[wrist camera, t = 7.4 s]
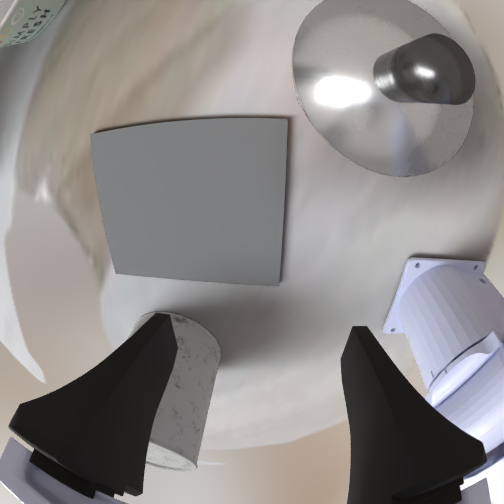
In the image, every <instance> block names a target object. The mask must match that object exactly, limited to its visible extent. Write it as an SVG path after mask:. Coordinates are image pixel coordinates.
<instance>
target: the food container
mask: <svg viewBox="0 0 504 504" xmlns="http://www.w3.org/2000/svg"><path fill="white" fill-rule="evenodd" d="M65 1H66V0H0V48H2V47H6V46H11V45H16V44H21V43H26V42H29V41H31V40H32V39H34V38H35V37H37V36H38V35H39V34H40V33H41V32H42V31H43V30H44V29H45V28H46V27H47V26H48V25H49V24H50V23H51V22H52V20H53V19H54V18H55V17H56V15H57V14H58V12H59V11H60V10H61V8H62V6H63V5H64V3H65Z"/></svg>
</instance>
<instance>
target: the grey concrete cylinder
mask: <svg viewBox="0 0 504 504" xmlns="http://www.w3.org/2000/svg"><path fill="white" fill-rule="evenodd" d="M155 313H156V312H152V313H147V314H145V315H143V316H141V317H140V318H139V319H138V320H137V321H136V323H135V326H134V328H133V330H132V332H131V334H130V336H129V337H128V339H129V338H130V337H131V336H132V335H133V334H134V333H135V332H136V331H137V330H138V329H139V328H140V327H141V326H142V325H143V324H144V323H146V322H147V321H148V320H149V319H150V318H151V317H152V316H153V315H154V314H155ZM157 313H164V314H170V317H171V321H172V325H173V329H174V333H175V337H176V341H177V345H178V351H177V355H176V359H175V363H174V367H173V370H172V373H171V376H170V378H169V381H168V384H167V386H166V389H165V391H164V394H163V396H162V399H161V402H160V404H159V407H158V410H157V412H156V416H155V419H154V423H153V427H152V431H151V435H150V440H149V445H148V451H147V456H146V464H149V465H152V466H155V467H159V468H163V469H169V470H174V471H184V472H185V471H193V470H195V469H196V468H197V460H198V455H199V450H200V446H201V441H202V437H203V432H204V427H205V423H206V418H207V414H208V409H209V405H210V400H211V396H212V391H213V387H214V382H215V378H216V374H217V369H218V365H219V362H220V360H221V349H220V346H219V343H218V342H217V340H216V339H215V337H214V336H213V335H212V334H211V333H210V332H209V331H208V330H207V329H206V328H204V327H203V326H201V325H200V324H199V323H197V322H195V321H193V320H191V319H189V318H187V317H184V316H181V315H179V314H175V313H170V312H157Z"/></svg>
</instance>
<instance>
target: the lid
mask: <svg viewBox="0 0 504 504" xmlns="http://www.w3.org/2000/svg"><path fill="white" fill-rule="evenodd" d="M291 66H292V78H293V82H294V87H295V91H296V94H297V96H298V99H299V102H300V104H301V106H302V108H303V110H304V112H305V114H306V116H307V117H308V119H309V121H310V122H311V124H312V125H313V127H314V128H315V129H316V130H317V132H318V133H319V134H320V135H321V136H322V138H324V139H325V140H326V141H327V142H328V143H329V144H330V145H331V146H332V147H333V148H334V149H336V150H337V151H338V152H339V153H341V154H342V155H343V156H345V157H346V158H348V159H350V160H351V161H353V162H354V163H356V164H358V165H360V166H362V167H364V168H366V169H368V170H371V171H374V172H377V173H380V174H384V175H389V176H398V177H408V176H417V175H421V174H425V173H428V172H430V171H433V170H435V169H437V168H438V167H440V166H442V165H443V164H445V163H446V162H447V161H448V160H450V159H451V158H452V157H453V156H454V155H455V153H456V152H457V151H458V150H459V148H460V147H461V145H462V144H463V142H464V140H465V138H466V136H467V134H468V131H469V129H470V126H471V122H472V117H473V108H474V95H473V92H474V89H475V74H474V70H473V67H472V64H471V62H470V60H469V58H468V56H467V54H466V53H465V52H464V50H463V49H462V48H461V47H460V46H459V45H458V44H457V43H456V42H455V41H454V40H453V39H452V37H451V36H450V35H449V33H448V32H447V31H446V30H445V29H444V27H443V26H442V25H441V24H440V23H439V22H438V21H437V20H436V19H435V18H433V17H432V16H431V15H430V14H428V13H427V12H426V11H425V10H423V9H421V8H420V7H418V6H417V5H415V4H413V3H412V2H410V1H408V0H324V1H322V2H321V3H320V4H319V5H317V6H316V7H315V8H314V9H313V10H312V11H311V12H310V13H309V14H308V15H307V16H306V18H305V19H304V21H303V23H302V24H301V26H300V28H299V30H298V33H297V35H296V38H295V43H294V47H293V52H292V64H291Z"/></svg>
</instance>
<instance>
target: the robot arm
mask: <svg viewBox="0 0 504 504" xmlns="http://www.w3.org/2000/svg"><path fill="white" fill-rule="evenodd" d="M417 263H419V264H418V265H416V264H417ZM415 265H416V266H415ZM485 266H486V265H485V263H484V262H483V261H470V260H452V259H434V258H416V257H412V258H410V259H408V260H407V262H406V265H405V269H404V272H403V275H402V278H401V281H400V284H399V287H398V290H397V293H396V295H395V298H394V301H393V303H392V306H391V309H390V311H389V314H388V316H387V319H386V321H385V324H384V326H383V332H384V333H385V334H391V333H405V334H406V337H407V339H408V342H409V344H410V347H411V349H412V352H413V354H414V357H415V359H416V362H417V365H418V367H419V370H420V373H421V375H422V378H423V381H424V384H425V387H426V390H427V393H428V394H427V396H426V397H425V398H423V397H422V396H421V395H420V394H419V393H418V392H417V391H416V389H415V388H414V387H413V386H412V385H411V384H410V383H409V382H408V380H407V379H406V378H405V377H404V376H403V374H402V373H401V372H400V371H399V369H398V368H397V367H396V365H395V364H394V363H393V361H392V360H391V359H390V357H389V356H388V355H387V353H386V352H385V351H384V349H383V348H382V346H381V345H380V344H379V342H378V341H377V339H376V338H375V337H374V335H373V334H372V332H371V331H370V330H369V328H368V327H367V326H353V327H352V330H351V332H350V335H349V338H348V341H347V344H346V346H345V349H344V352H343V354H342V357H341V374H342V384H343V390H344V395H345V401H346V407H347V413H348V419H349V424H350V434H351V469H350V484H349V493H348V501H347V504H491V502H492V504H504V298H503V297H502V295H501V294H500V293H499V292H498V290H497V289H496V288H495V287H494V286H493V285H492V283H491V282H490V281H489V280H488V279H487V277H486V276H485V275H484V274H483V272H484V269H485ZM392 328H393V329H392ZM177 351H178V345H177V341H176V337H175V333H174V329H173V325H172V321H171V317H170V314H164V313H157V312H156V313H155V314H154V315H153V316H152V317H151V318H150V319H149V320H148V321H147V322H146V323H144V324H143V325H142V326H141V327H140V328H139V329H138V330H137V331H136V332H135V333H134V334H133V335H132V336H131V337H130V338H129V339H127V340H126V341H125V342H124V343H123V344H122V345H121V346H120V347H119V348H118V349H116V350H115V351H114V352H113V353H112V354H110V355H109V356H108V357H107V358H106V359H105V360H104V361H102V362H101V363H99V364H98V365H97V366H96V367H94V368H93V369H91V370H90V371H88V372H87V373H85V374H84V375H82V376H81V377H79V378H77V379H76V380H74V381H72V382H71V383H69V384H67V385H65V386H63V387H62V388H60V389H58V390H56V391H54V392H51V393H49V394H47V395H44V396H42V397H39V398H37V399H34V400H31V401H28V402H25V403H22V404H20V405H19V407H18V409H17V410H16V413H15V414H14V416H13V418H12V420H11V422H10V424H9V429H10V430H11V431H13V432H14V433H15V434H16V435H17V436H19V437H20V438H21V439H22V440H24V441H25V442H26V443H28V444H29V445H30V446H32V447H33V448H34V451H33V453H32V452H31V451H30V450H28V449H27V448H25V447H24V446H23V445H21V444H20V443H19V442H18V441H16V440H15V439H14V438H12V437H10V439H9V441H8V443H7V445H6V448H5V450H4V452H3V454H2V457H1V459H0V482H1V483H2V484H3V485H4V486H5V487H6V488H7V489H8V490H9V491H10V492H11V493H12V494H13V495H14V496H15V497H17V498H18V499H19V500H20V501H21V502H22V503H23V504H127V503H125V502H122V501H120V500H117V499H115V498H113V497H114V494H118V495H120V496H123V494H124V492H125V493H128V494H130V495H133V496H138V495H141V494H142V493H143V481H144V470H145V463H146V456H147V451H148V445H149V440H150V435H151V431H152V427H153V423H154V419H155V416H156V412H157V410H158V407H159V404H160V402H161V399H162V396H163V394H164V391H165V389H166V386H167V384H168V381H169V378H170V376H171V373H172V370H173V367H174V363H175V359H176V355H177Z"/></svg>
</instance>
